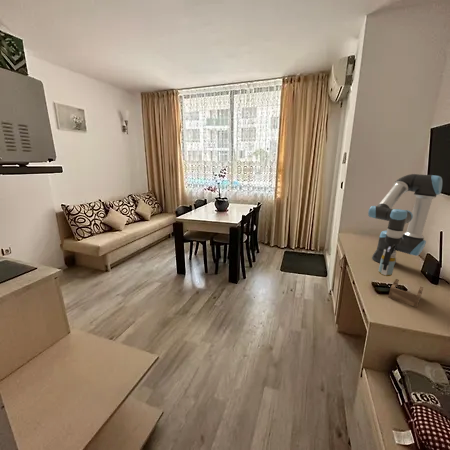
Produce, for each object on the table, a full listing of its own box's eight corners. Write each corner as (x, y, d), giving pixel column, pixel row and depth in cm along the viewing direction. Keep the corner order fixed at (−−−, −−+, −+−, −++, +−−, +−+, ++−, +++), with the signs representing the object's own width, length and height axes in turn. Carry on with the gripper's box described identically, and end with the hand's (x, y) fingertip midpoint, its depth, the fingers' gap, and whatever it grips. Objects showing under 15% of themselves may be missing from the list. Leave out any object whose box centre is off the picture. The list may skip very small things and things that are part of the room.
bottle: (393, 277, 144) (399, 253, 140) (380, 275, 145) (386, 252, 141) (388, 271, 150) (394, 249, 146) (376, 270, 152) (381, 248, 147)
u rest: (393, 288, 145) (396, 279, 144) (420, 297, 137) (423, 287, 135) (388, 297, 135) (390, 287, 134) (416, 307, 127) (419, 297, 125)
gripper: (390, 231, 150) (382, 265, 157) (381, 238, 136) (373, 275, 143) (404, 234, 145) (396, 269, 152) (397, 242, 131) (388, 280, 138)
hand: (385, 272), depth 148 cm, fingers closed on bottle, 7 cm apart
